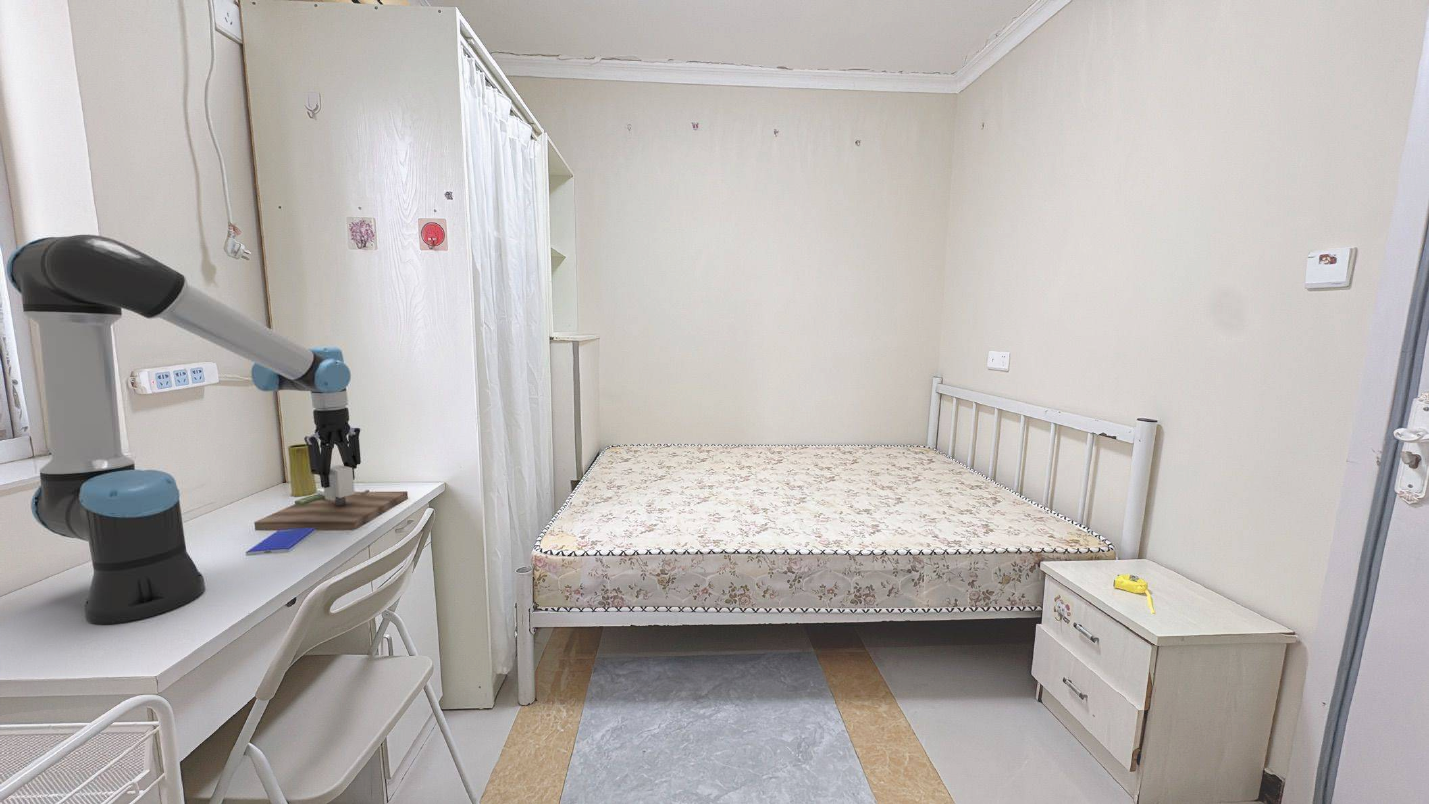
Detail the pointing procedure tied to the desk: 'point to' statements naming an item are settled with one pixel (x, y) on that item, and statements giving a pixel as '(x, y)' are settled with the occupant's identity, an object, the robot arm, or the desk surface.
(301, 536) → the hard drive
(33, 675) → the desk surface
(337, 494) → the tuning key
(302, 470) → the vase
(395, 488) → the desk surface
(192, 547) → the desk surface
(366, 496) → the brown flat square board
